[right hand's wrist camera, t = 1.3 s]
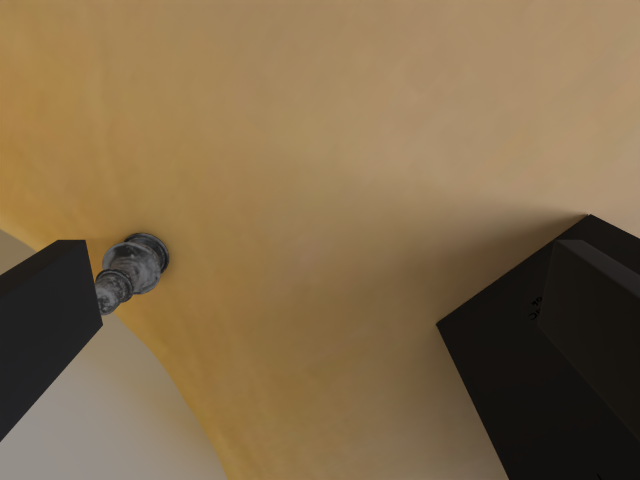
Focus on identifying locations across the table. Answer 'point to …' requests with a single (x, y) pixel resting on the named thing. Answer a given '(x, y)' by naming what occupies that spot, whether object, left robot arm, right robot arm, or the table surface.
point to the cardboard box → (540, 375)
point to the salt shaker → (130, 270)
